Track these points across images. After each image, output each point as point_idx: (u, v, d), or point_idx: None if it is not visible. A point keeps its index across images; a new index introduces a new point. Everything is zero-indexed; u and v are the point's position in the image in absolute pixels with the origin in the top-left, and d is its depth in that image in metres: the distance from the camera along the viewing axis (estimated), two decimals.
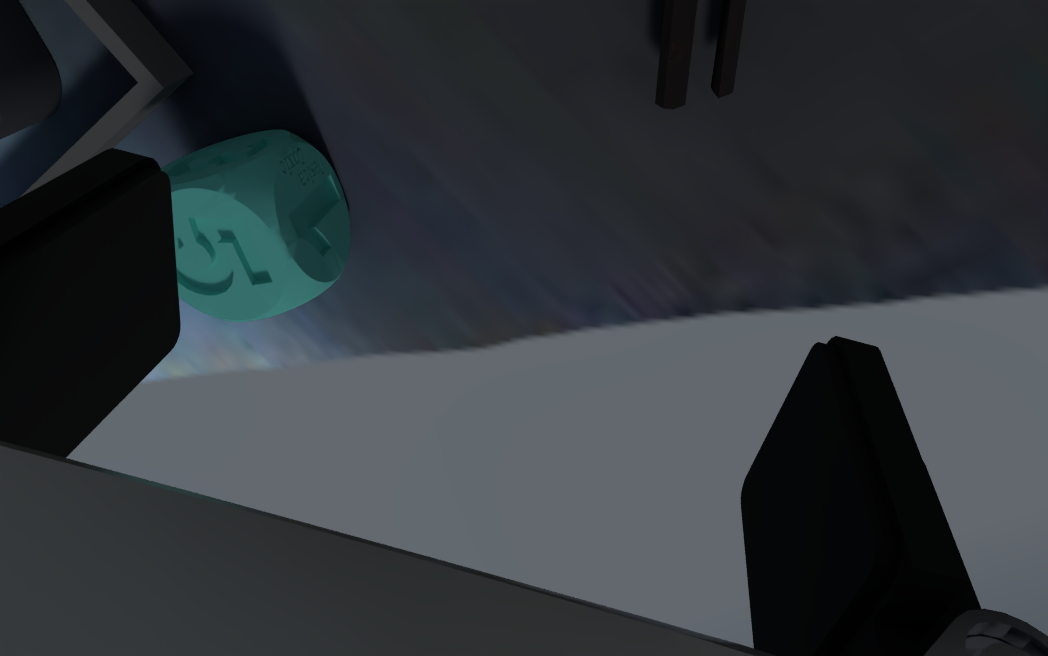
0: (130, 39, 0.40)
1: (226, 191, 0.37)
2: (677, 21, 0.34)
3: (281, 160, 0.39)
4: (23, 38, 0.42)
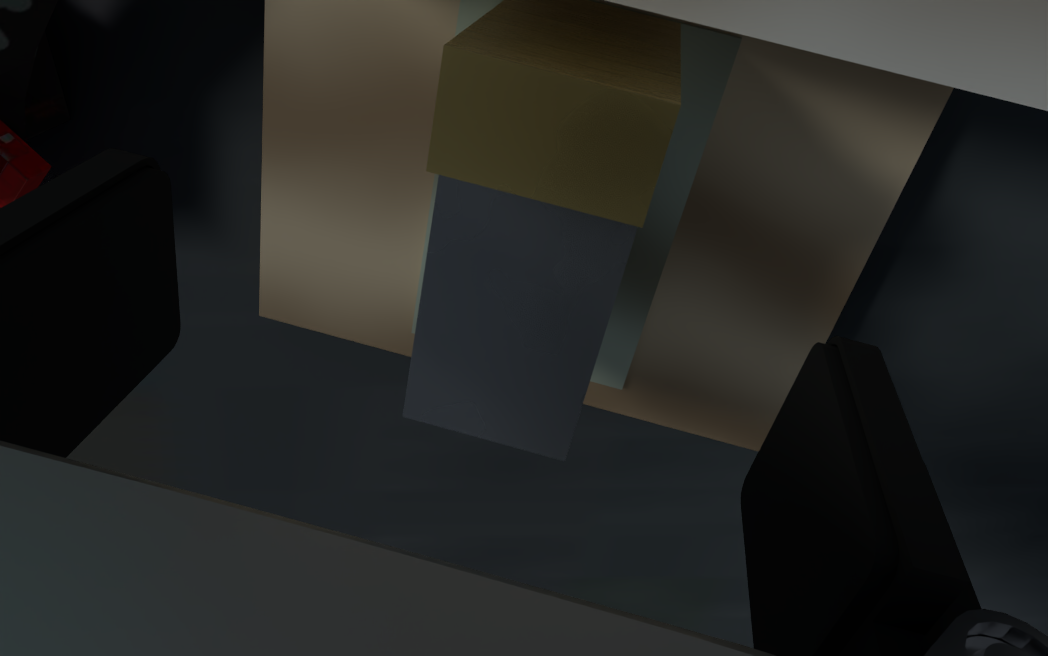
0: None
1: None
2: None
3: None
4: None
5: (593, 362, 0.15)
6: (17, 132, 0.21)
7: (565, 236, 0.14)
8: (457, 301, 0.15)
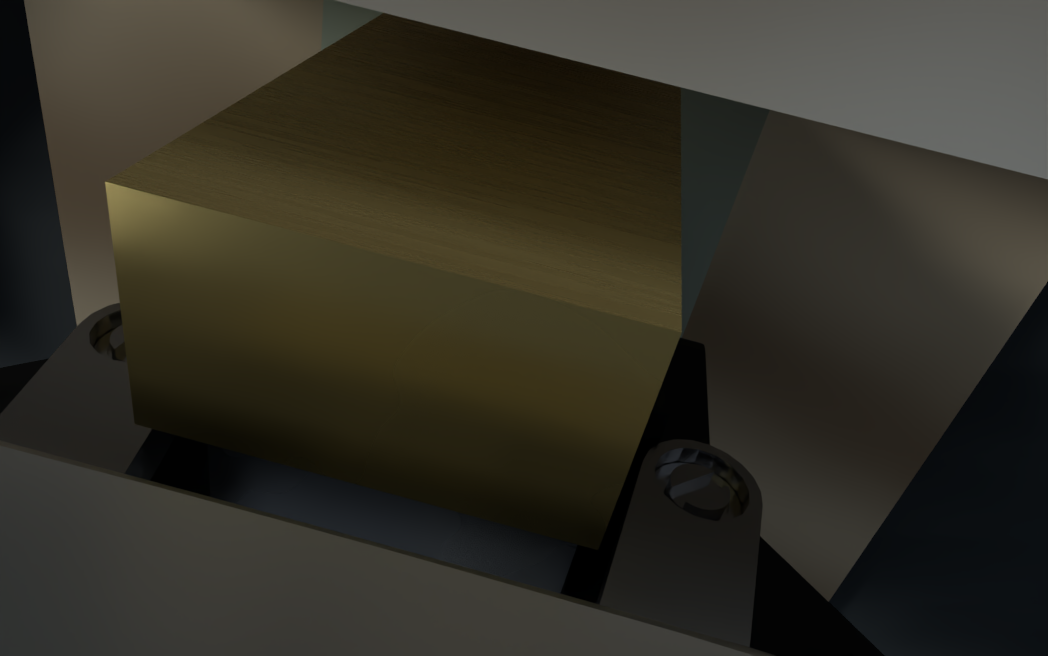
0: None
1: None
2: None
3: None
4: None
5: None
6: None
7: None
8: None
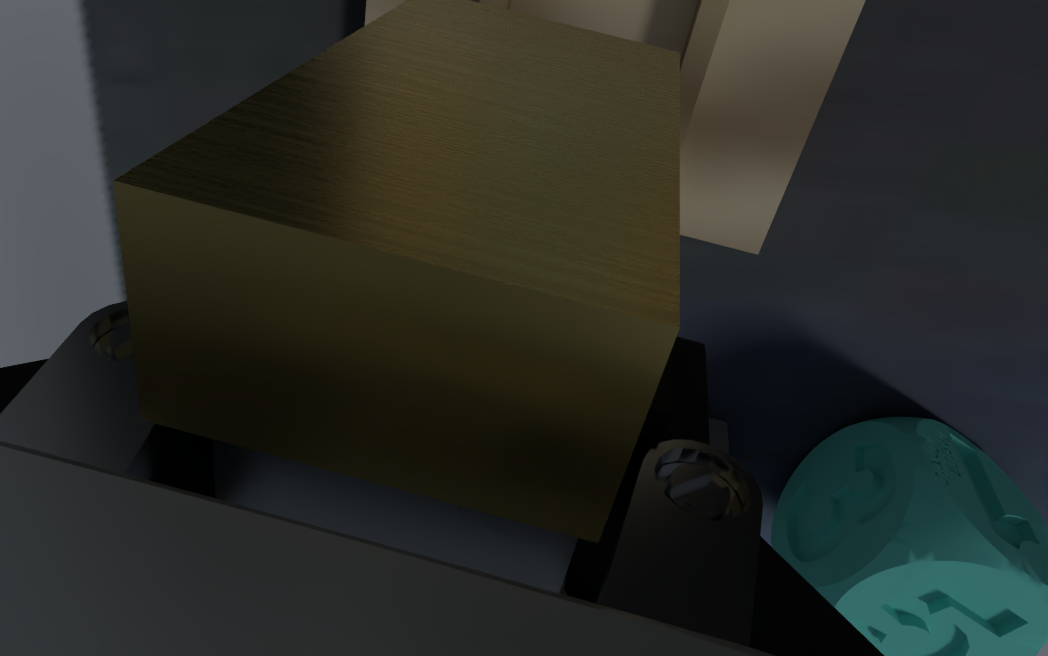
0: None
1: (918, 556, 0.27)
2: None
3: (933, 472, 0.29)
4: None
5: None
6: None
7: None
8: None
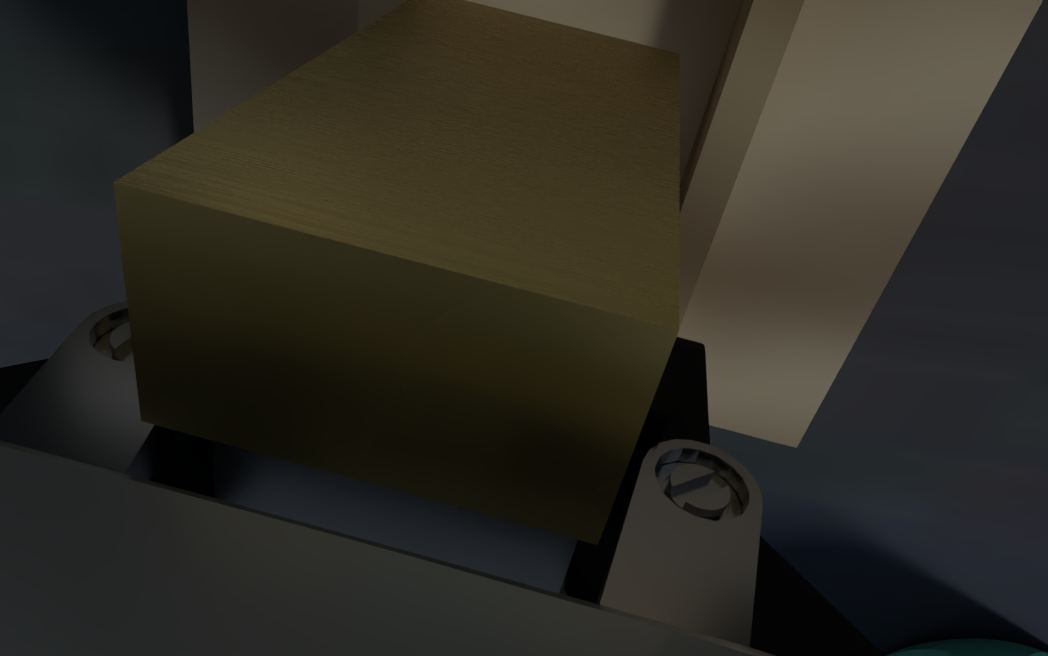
0: None
1: None
2: None
3: None
4: None
5: None
6: None
7: None
8: None
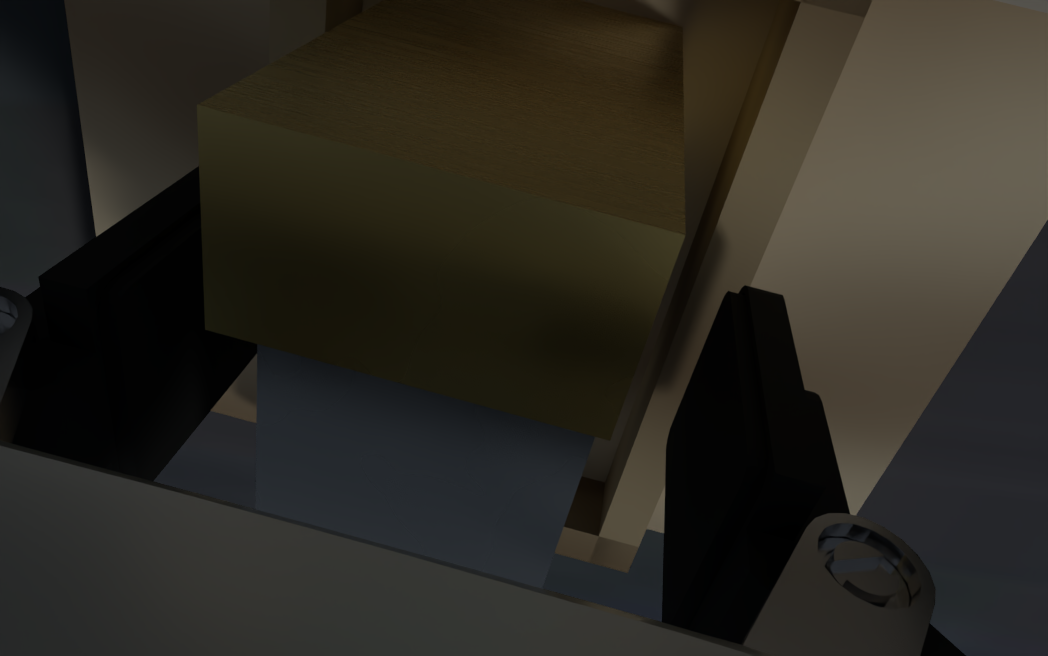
0: None
1: None
2: None
3: None
4: None
5: None
6: None
7: (481, 413, 0.08)
8: (315, 495, 0.09)
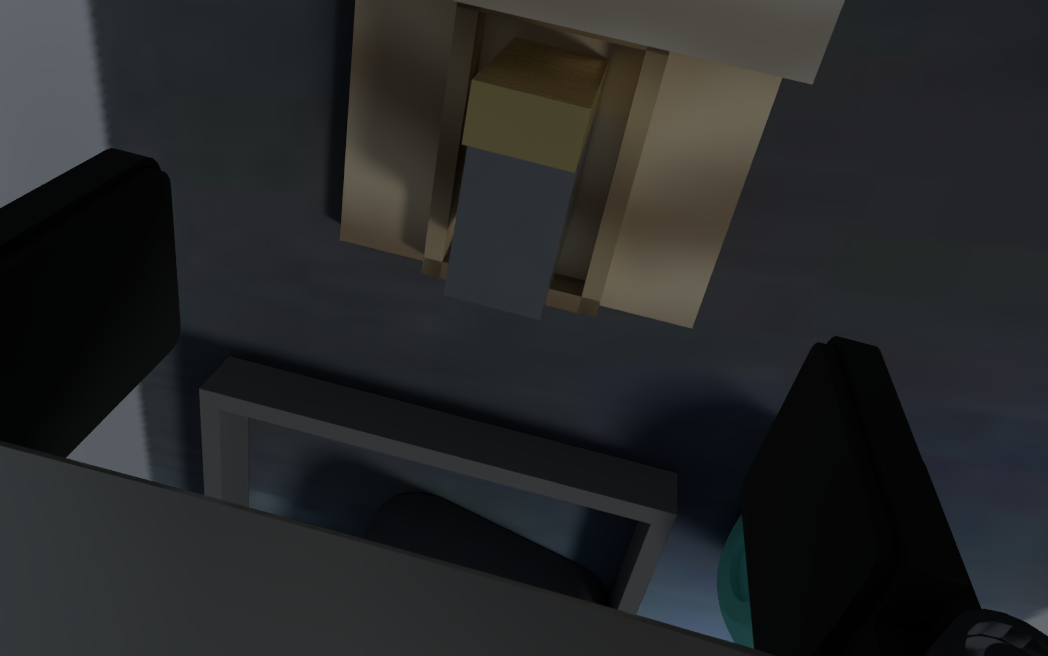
0: (621, 490, 0.37)
1: None
2: None
3: None
4: (557, 571, 0.42)
5: (554, 255, 0.26)
6: None
7: (536, 181, 0.25)
8: (477, 220, 0.26)
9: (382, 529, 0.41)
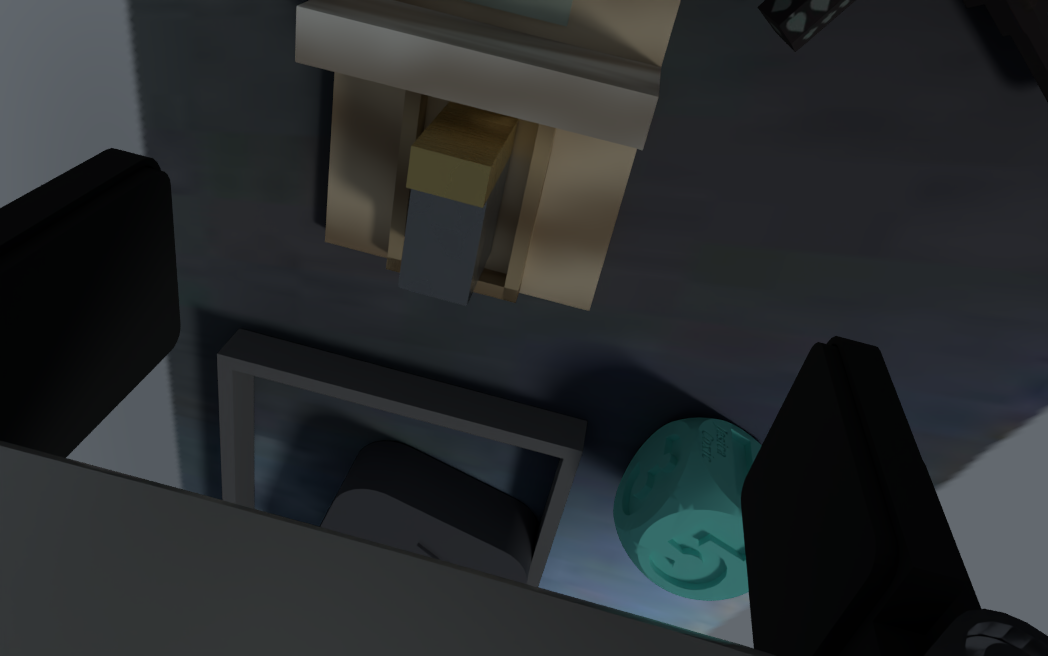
0: (541, 433, 0.49)
1: (684, 507, 0.43)
2: None
3: (701, 453, 0.44)
4: (497, 502, 0.54)
5: (474, 261, 0.37)
6: None
7: (459, 211, 0.36)
8: (419, 236, 0.37)
9: (359, 468, 0.53)
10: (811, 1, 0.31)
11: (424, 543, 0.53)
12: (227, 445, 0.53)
